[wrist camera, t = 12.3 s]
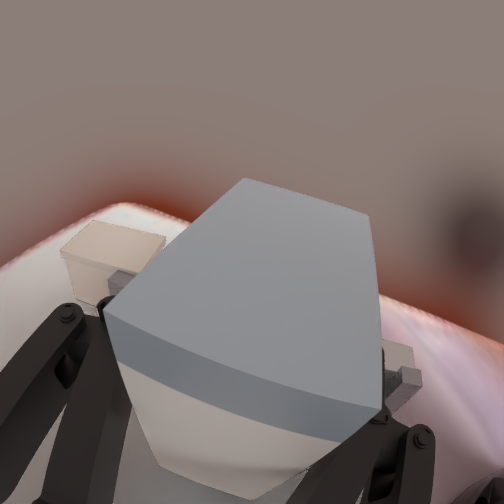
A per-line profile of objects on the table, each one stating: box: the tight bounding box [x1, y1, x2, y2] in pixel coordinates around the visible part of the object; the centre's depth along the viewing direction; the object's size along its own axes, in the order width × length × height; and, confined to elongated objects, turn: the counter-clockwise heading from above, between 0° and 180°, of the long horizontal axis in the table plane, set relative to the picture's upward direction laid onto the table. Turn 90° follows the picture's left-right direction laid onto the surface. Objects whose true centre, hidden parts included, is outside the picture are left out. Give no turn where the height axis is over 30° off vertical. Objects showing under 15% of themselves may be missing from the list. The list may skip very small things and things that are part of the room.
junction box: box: [60, 220, 166, 306], centre depth 19 cm, size 6×4×5 cm
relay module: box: [103, 178, 382, 500], centre depth 11 cm, size 5×8×12 cm, turn 163°
